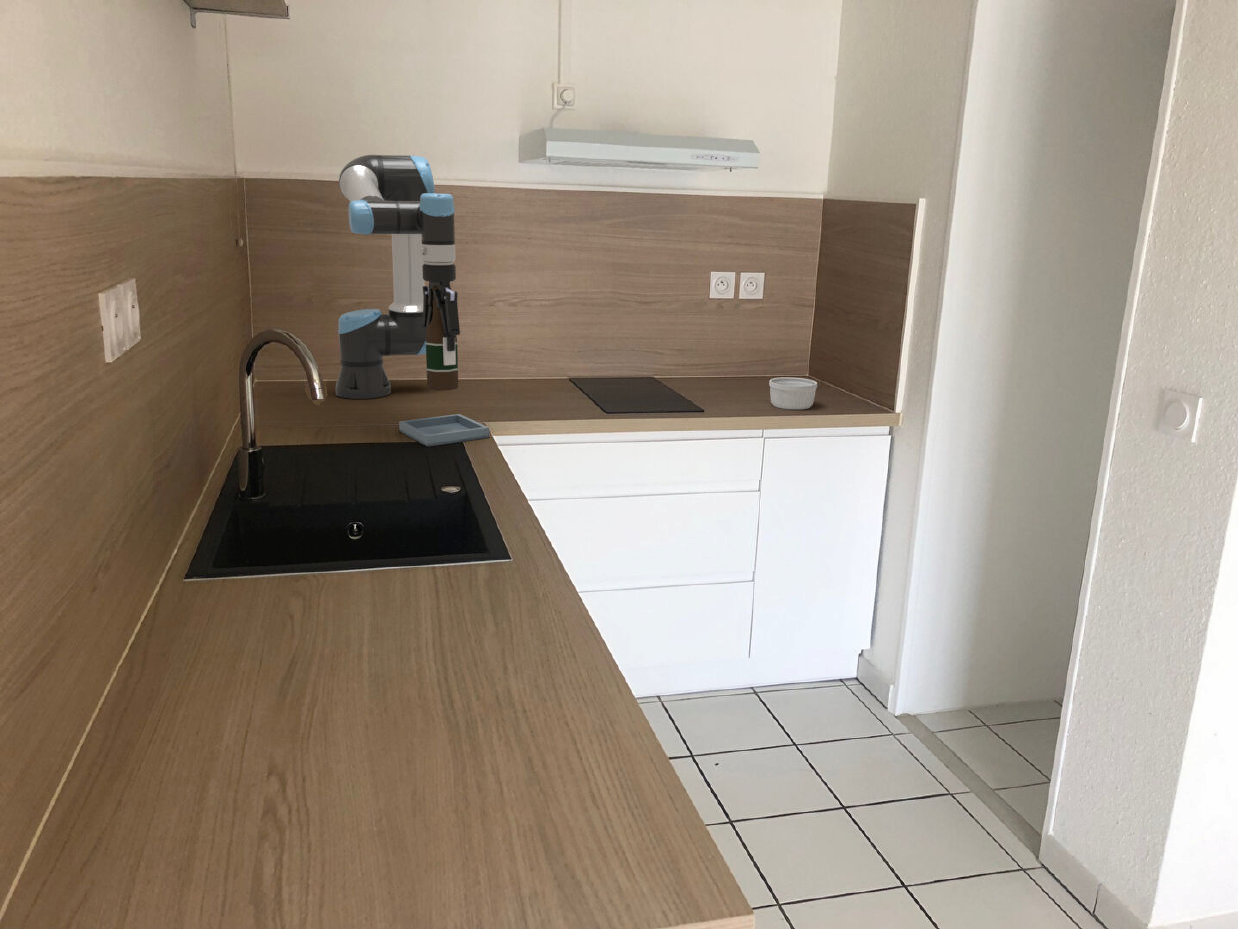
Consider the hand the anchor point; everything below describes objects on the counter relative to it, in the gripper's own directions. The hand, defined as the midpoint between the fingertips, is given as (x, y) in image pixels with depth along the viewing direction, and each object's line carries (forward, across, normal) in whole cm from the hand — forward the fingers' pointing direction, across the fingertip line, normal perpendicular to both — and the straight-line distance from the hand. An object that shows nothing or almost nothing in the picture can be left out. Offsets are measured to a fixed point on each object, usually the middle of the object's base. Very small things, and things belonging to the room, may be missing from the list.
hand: (441, 361), depth 230 cm
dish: (+18, 0, 0) cm, 18 cm away
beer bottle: (+6, 0, 0) cm, 6 cm away
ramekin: (+18, +19, +97) cm, 100 cm away
